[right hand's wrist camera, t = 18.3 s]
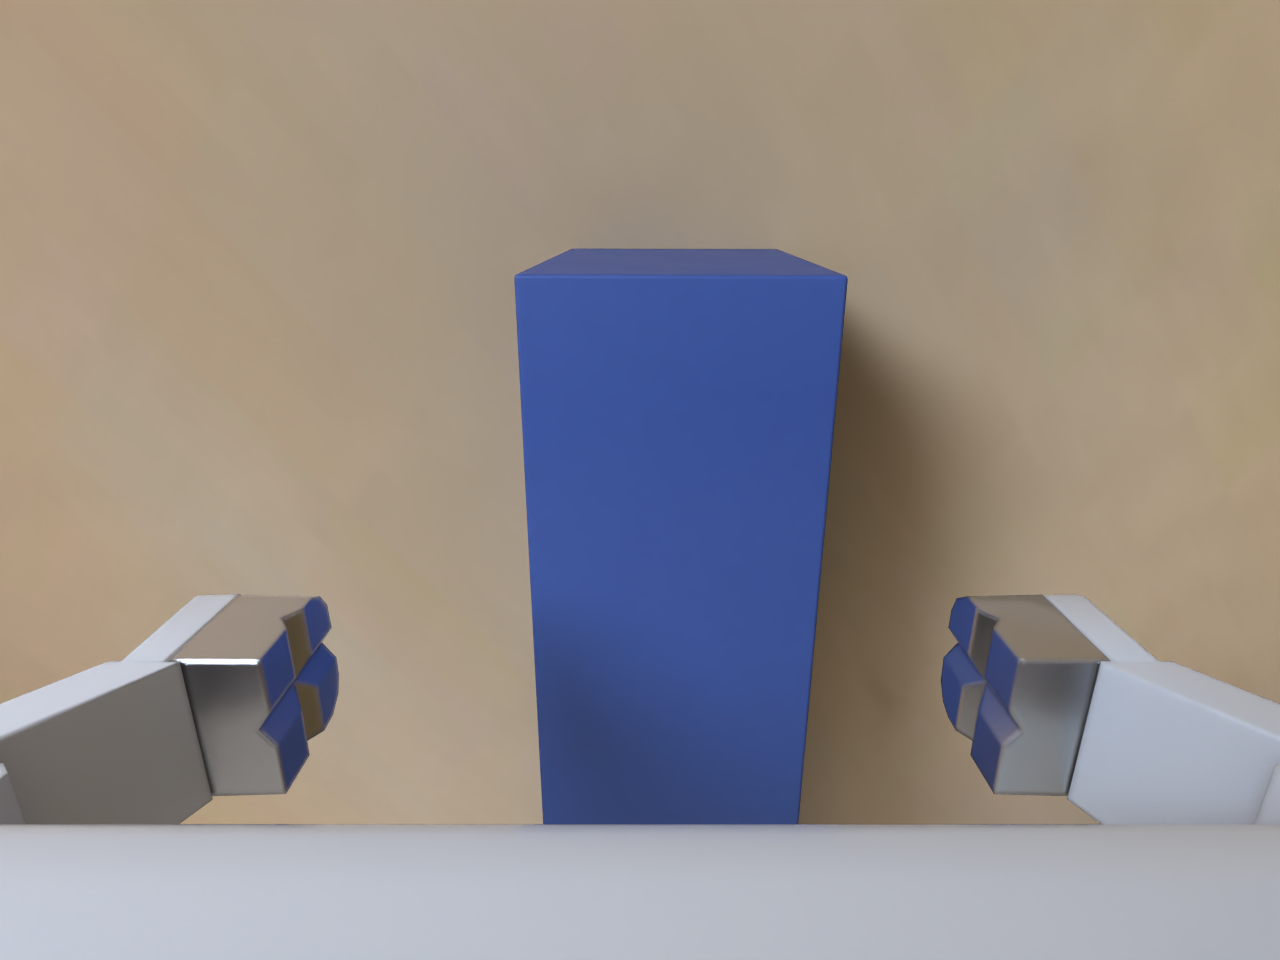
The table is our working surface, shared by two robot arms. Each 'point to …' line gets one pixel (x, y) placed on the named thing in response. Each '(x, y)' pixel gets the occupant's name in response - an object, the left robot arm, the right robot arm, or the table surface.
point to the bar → (676, 525)
